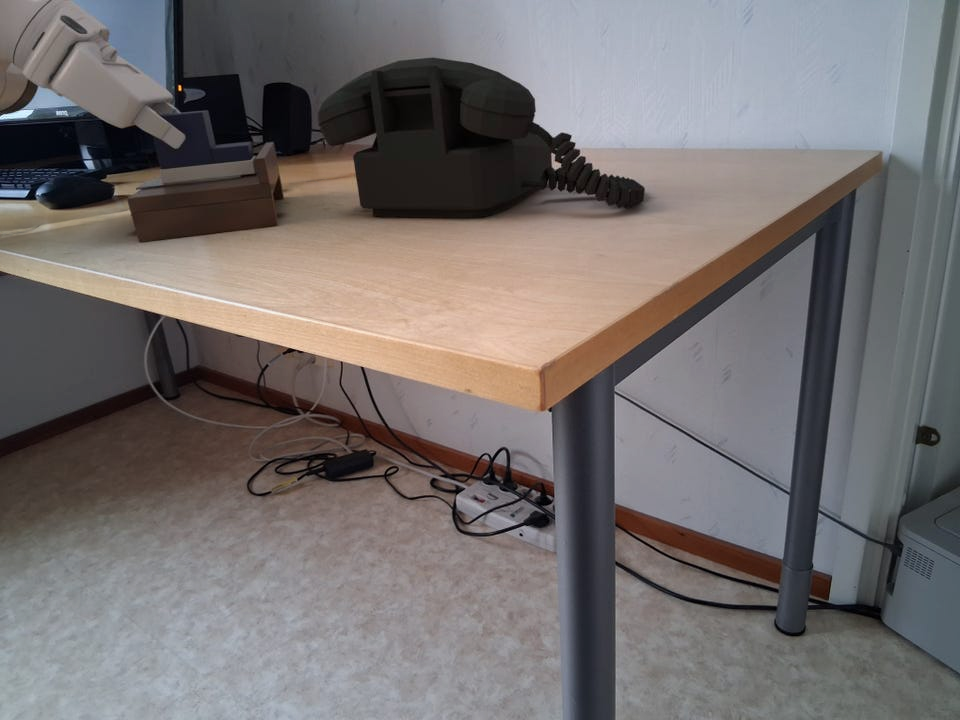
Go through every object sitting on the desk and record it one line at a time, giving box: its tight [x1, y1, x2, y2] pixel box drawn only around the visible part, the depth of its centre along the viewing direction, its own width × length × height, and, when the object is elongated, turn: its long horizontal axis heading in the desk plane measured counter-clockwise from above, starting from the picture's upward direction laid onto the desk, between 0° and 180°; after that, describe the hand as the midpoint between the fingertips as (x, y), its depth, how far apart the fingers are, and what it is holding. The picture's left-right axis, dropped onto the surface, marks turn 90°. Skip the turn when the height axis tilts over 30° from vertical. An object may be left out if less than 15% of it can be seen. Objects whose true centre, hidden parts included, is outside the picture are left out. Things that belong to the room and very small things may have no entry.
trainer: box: [152, 109, 257, 184], centre depth 79 cm, size 10×5×7 cm, turn 103°
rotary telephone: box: [317, 56, 646, 219], centre depth 74 cm, size 33×22×15 cm, turn 65°
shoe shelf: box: [126, 141, 285, 243], centre depth 80 cm, size 14×20×7 cm
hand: (189, 139), depth 78 cm, fingers open, 8 cm apart
